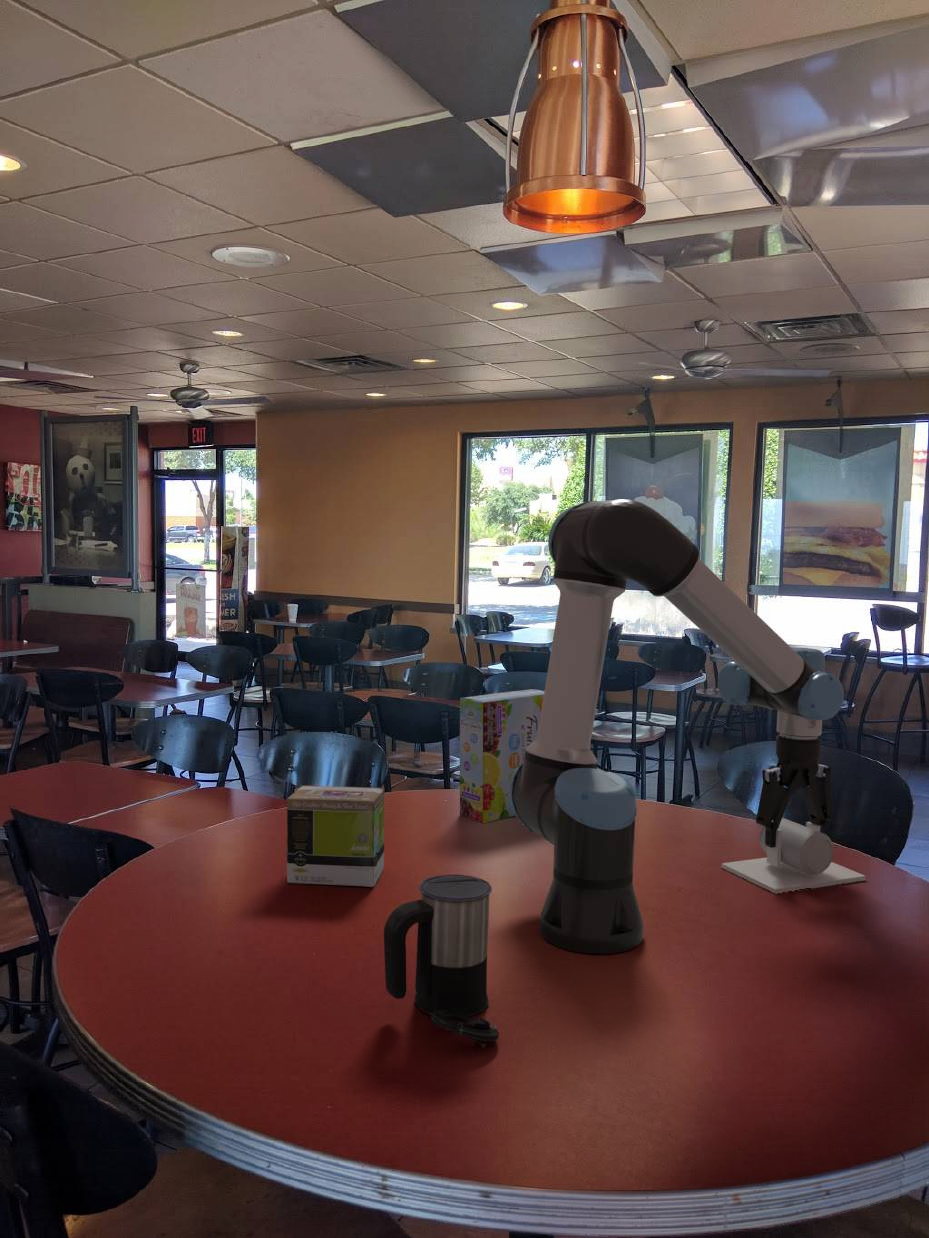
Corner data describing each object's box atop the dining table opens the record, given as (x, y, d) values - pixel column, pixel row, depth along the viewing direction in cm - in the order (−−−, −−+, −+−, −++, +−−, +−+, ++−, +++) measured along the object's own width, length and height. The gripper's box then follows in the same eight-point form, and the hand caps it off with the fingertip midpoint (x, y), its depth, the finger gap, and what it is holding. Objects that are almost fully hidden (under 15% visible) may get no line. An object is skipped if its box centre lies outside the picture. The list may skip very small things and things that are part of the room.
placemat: (775, 893, 158) (775, 889, 158) (721, 867, 171) (721, 863, 171) (865, 880, 166) (865, 875, 166) (807, 856, 179) (807, 852, 179)
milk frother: (450, 978, 124) (452, 867, 123) (547, 1019, 114) (550, 899, 113) (370, 1016, 113) (372, 895, 112) (468, 1065, 103) (472, 933, 102)
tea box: (384, 869, 166) (386, 786, 165) (373, 889, 156) (375, 801, 155) (301, 864, 168) (302, 782, 167) (284, 884, 158) (285, 796, 157)
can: (811, 885, 162) (763, 863, 173) (842, 862, 164) (792, 841, 175) (798, 848, 160) (750, 828, 171) (829, 826, 163) (780, 807, 173)
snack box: (529, 799, 216) (532, 687, 214) (556, 808, 209) (560, 692, 207) (455, 815, 202) (458, 695, 200) (482, 824, 195) (485, 700, 193)
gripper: (766, 742, 159) (760, 875, 161) (859, 736, 167) (853, 862, 169) (737, 734, 166) (731, 861, 168) (828, 728, 174) (822, 849, 176)
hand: (792, 861), depth 168 cm, fingers open, 8 cm apart
